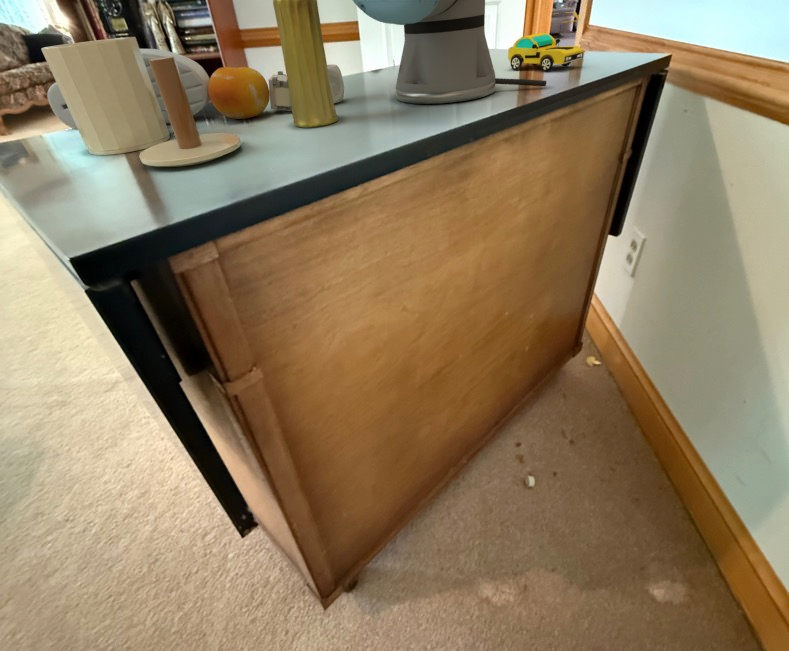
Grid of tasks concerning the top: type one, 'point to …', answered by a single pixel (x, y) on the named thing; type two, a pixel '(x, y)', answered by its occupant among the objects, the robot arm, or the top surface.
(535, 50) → the toy car
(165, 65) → the lid
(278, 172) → the top surface
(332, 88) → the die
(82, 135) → the pot
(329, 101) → the vase
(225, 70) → the fruit
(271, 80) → the transformer
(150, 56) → the boat shoe
